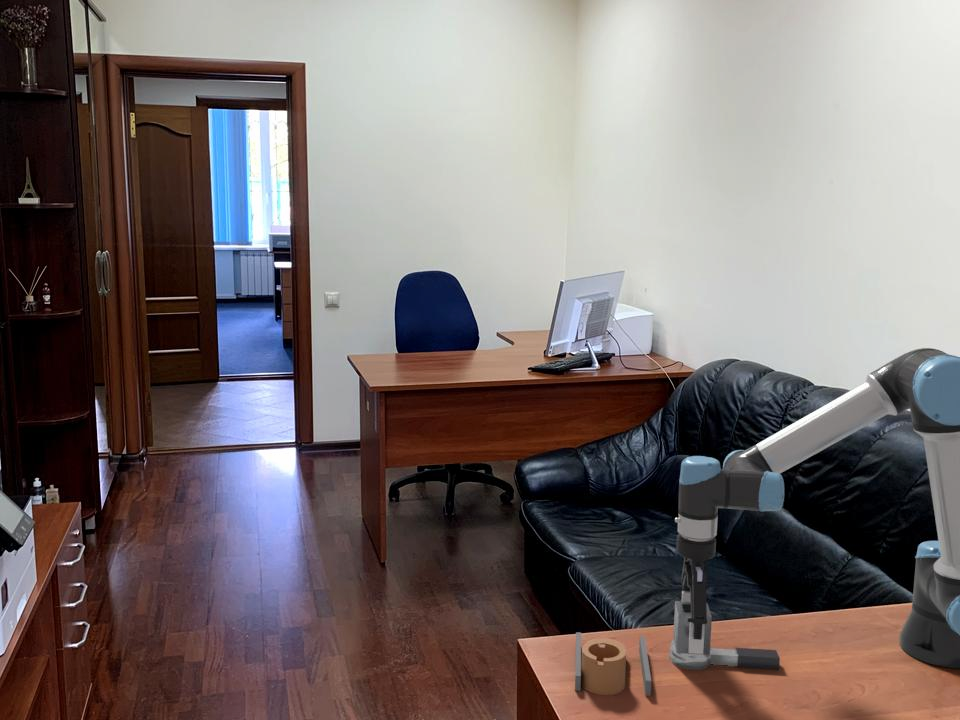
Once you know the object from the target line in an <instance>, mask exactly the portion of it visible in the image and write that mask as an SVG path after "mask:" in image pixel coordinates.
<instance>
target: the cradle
mask: <svg viewBox="0 0 960 720" xmlns="http://www.w3.org/2000/svg"><path fill="white" fill-rule="evenodd" d="M645 637H646V636H642V635H641V636H639V639H638V640H639V641H638V643H639V644H638V646H639V647H638V652H639V657H640V658H639V659H640V660H639V661H640V667H641V675H642V682H643V683H642V684H643V689H644V696H647V697H648V696H649V697H651V695H652V675H651V671H650V664H649V663H650V662H649V656H648V650H647V645H646V644H647V642H646V638H645ZM574 663H575V664H574V665H575V669H574V671H575V672H574V676H575V677H574V685H575V686H574V690H575V692H581V686H582V685H581V663H582V632H581V631H580V632H575V660H574Z"/></svg>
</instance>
